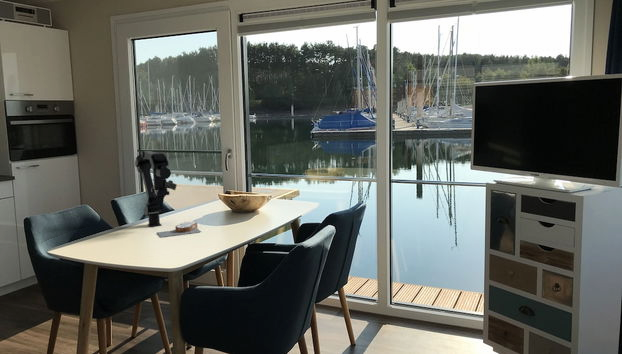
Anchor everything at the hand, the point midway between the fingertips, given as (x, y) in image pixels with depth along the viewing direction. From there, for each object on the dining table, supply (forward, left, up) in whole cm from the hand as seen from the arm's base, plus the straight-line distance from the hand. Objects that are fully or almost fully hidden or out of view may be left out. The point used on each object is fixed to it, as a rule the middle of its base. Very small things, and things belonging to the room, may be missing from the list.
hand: (161, 206), depth 278 cm
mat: (+12, +6, -12) cm, 18 cm away
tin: (+6, +7, -10) cm, 14 cm away
